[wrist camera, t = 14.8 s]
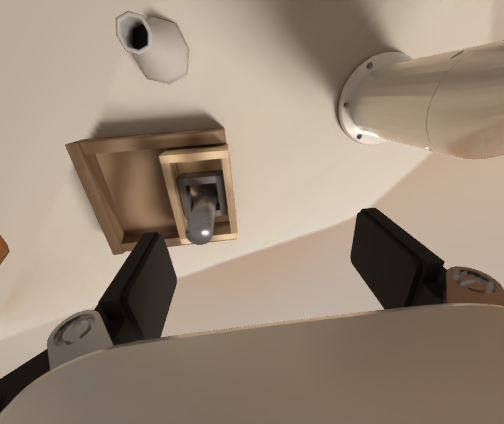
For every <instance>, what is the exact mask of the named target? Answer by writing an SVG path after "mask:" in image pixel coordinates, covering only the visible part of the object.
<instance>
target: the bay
mask: <svg viewBox="0 0 504 424" xmlns="http://www.w3.org/2000/svg"><path fill="white" fill-rule="evenodd" d="M216 144H226V137H225V129H224V128H216V129H204V130H192V131H180V132H168V133H156V134H144V135H132V136H120V137H108V138H95V139H83V140H80V141H76V142H73V143H69V144H66V145H65V146H66V149H67V151H68V153H69V155H70V158H71V160H72V162H73V164H74V167H75V169H76V171H77V173H78V176H79V178H80V180H81V183H82V185H83V187H84V189H85V192H86V194H87V196H88V198H89V201H90V203H91V205H92V207H93V210H94V212H95V214H96V216H97V219H98V221H99V223H100V226H101V228H102V230H103V232H104V235H105V237H106V239H107V241H108V244H109V246H110V248H111V250H112V253H113V255H116V254H123V253H124V252H125V251H132V250H133V249H134V247H135V246H136V244H137V243H138V241H139V240H140V238H141V237H142V235H143V234H144V233H148V232H158V233H159V234H162V235H163V237H164V239H165V243H166V246H167V247H171V246H180V245H189V244H181V240H180V237H179V233H178V229H177V225H176V221H175V217H174V213H173V209H172V206H171V202H170V198H169V194H168V190H167V186H166V182H165V179H164V175H163V171H162V167H161V163H160V159H159V156H160V155H161V154H162V153H163V152H165V151H166V150H167V149H169V148H181V147H192V146H204V145H216ZM236 239H237V238H236ZM227 240H234V239H227ZM218 241H225V240H218ZM209 242H216V241H209ZM190 244H193V243H190Z"/></svg>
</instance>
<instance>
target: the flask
mask: <svg viewBox="0 0 504 424" xmlns="http://www.w3.org/2000/svg"><path fill="white" fill-rule="evenodd" d="M116 35H117V37H118V38H119V40H120V42H121V44H122V45H123V47H124V49H125V50H126V51H128V52H132V53H133V55H134V57H135V59H136V60H137V62H138V64H139V65H140V67H141V69H142V70H143V72H144V74H145V76H146V77H147V79H150V80H155V81H159V82H163V83H167V84H170V83H172V82H174V81H176V80H177V79H179V78H181V77H183V76H185V75H186V74H187V71H188V58H189V48H188V46H187V44H186V42H185V40H184V37H183V35H182V33H181V31H180V29H179V27H178V25H177V24H176V23H173V22H169V21H166V20H162V19H159V18H155V17H152V18H150V19H148V20H145V18H144V16H143V15H140V14H136V13H133V12H129V11H127V12H125V13H123V14H122V15H120V16H118V17H117V18H116Z"/></svg>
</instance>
